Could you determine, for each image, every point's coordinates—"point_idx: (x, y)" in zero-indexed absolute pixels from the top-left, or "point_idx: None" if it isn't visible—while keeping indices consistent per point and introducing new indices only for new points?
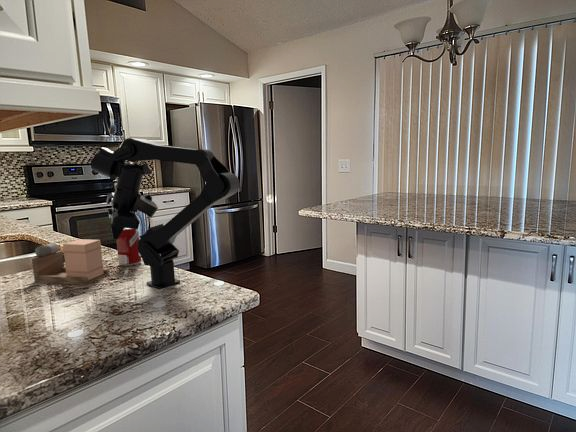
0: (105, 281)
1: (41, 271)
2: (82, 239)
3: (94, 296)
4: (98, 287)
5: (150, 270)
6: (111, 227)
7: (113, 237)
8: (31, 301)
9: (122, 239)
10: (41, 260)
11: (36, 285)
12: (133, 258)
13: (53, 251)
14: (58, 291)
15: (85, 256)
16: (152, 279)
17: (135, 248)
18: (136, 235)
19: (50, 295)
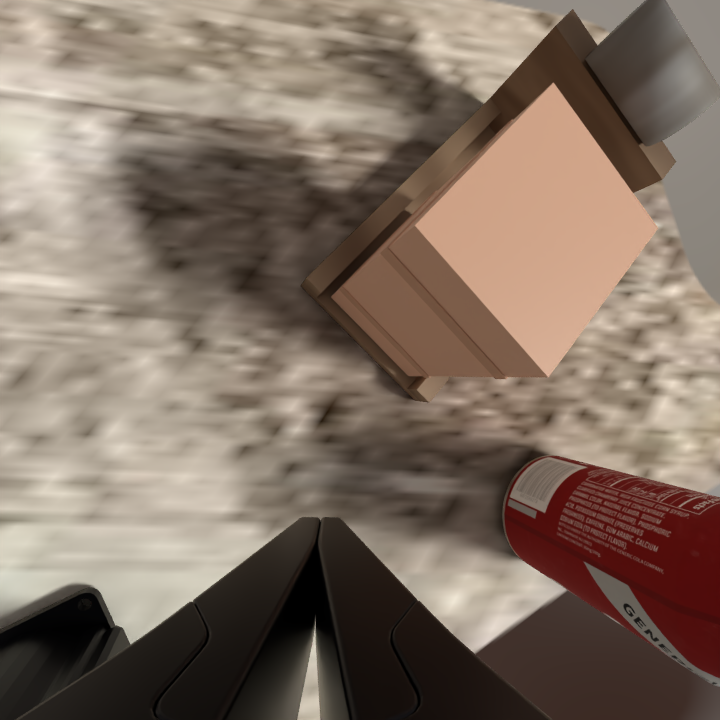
0: (310, 375)
1: (513, 103)
2: (638, 246)
3: (57, 302)
4: (221, 335)
5: (91, 670)
6: (163, 627)
7: (289, 529)
8: (184, 40)
9: (649, 539)
10: (561, 68)
11: (429, 101)
12: (525, 541)
13: (632, 115)
14: (275, 163)
15: (375, 258)
16: (4, 655)
17: (576, 586)
18: (677, 658)
19: (230, 124)
